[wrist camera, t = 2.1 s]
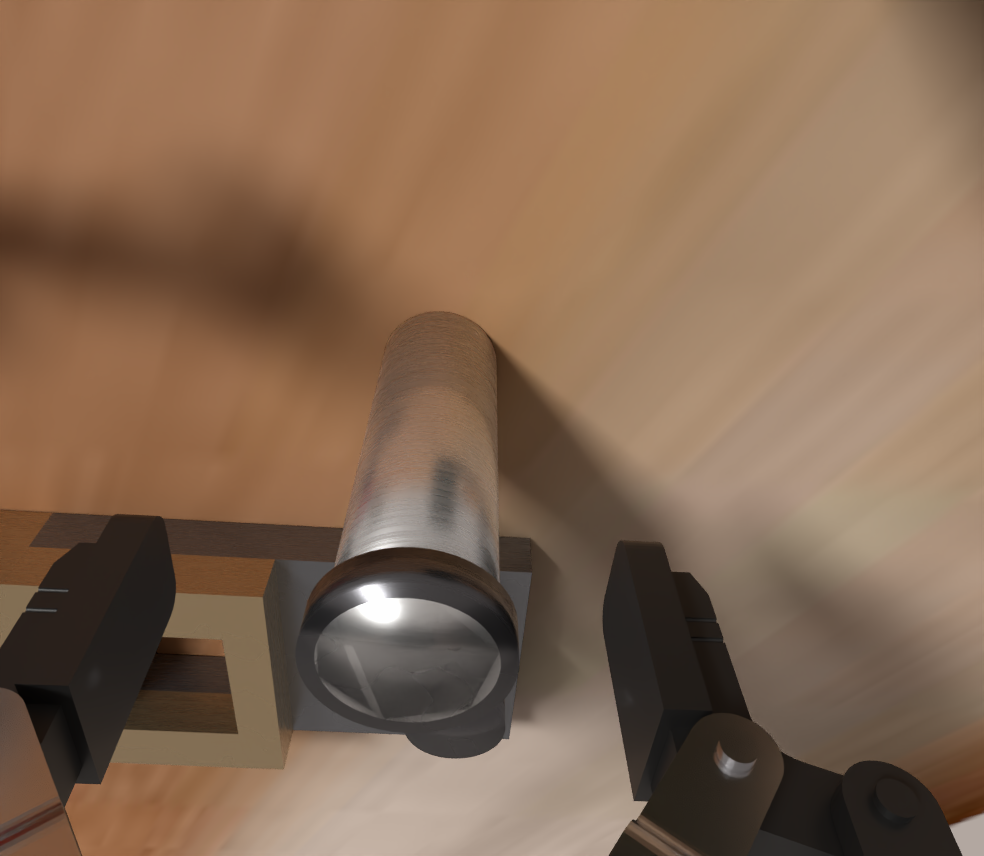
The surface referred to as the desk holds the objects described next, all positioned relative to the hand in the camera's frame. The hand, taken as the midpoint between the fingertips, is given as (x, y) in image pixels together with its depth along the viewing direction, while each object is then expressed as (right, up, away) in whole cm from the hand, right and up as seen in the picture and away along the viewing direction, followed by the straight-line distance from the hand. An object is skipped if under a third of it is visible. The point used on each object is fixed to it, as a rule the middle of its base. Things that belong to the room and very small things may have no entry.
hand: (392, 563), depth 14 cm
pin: (0, +4, +7) cm, 8 cm away
